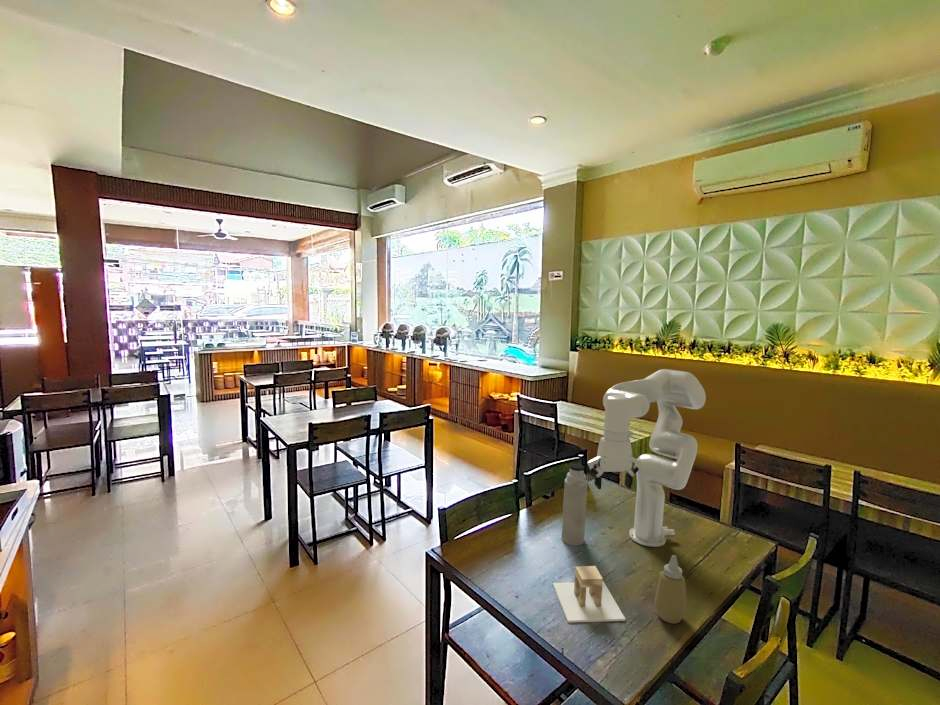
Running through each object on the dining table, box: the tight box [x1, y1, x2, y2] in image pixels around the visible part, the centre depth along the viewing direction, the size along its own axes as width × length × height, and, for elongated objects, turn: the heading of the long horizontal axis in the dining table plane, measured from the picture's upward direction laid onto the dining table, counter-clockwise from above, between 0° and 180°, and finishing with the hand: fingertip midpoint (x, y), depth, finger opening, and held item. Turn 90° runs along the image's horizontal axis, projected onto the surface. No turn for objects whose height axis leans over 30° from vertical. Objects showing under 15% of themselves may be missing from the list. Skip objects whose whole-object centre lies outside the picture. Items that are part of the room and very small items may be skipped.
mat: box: [552, 581, 626, 624], centre depth 129 cm, size 16×16×1 cm
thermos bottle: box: [561, 463, 588, 546], centre depth 160 cm, size 8×8×28 cm
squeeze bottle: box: [653, 554, 687, 625], centre depth 123 cm, size 8×8×18 cm
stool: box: [574, 565, 604, 607], centre depth 128 cm, size 6×6×8 cm
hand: (613, 487), depth 141 cm, fingers open, 9 cm apart
